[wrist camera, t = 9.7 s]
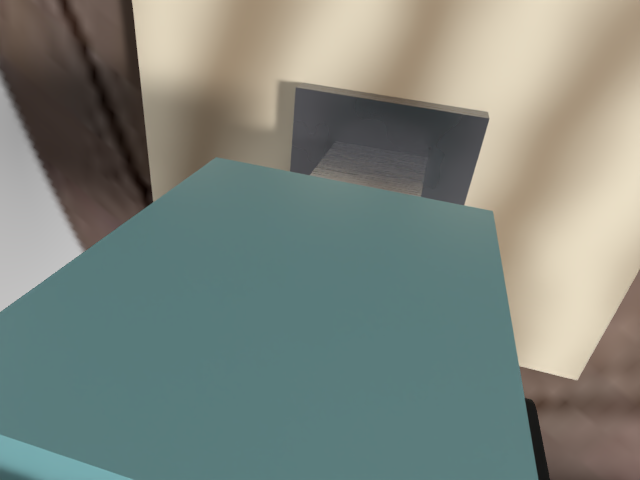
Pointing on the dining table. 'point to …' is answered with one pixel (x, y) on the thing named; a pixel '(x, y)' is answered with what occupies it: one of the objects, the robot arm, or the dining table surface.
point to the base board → (440, 88)
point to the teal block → (270, 342)
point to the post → (386, 142)
